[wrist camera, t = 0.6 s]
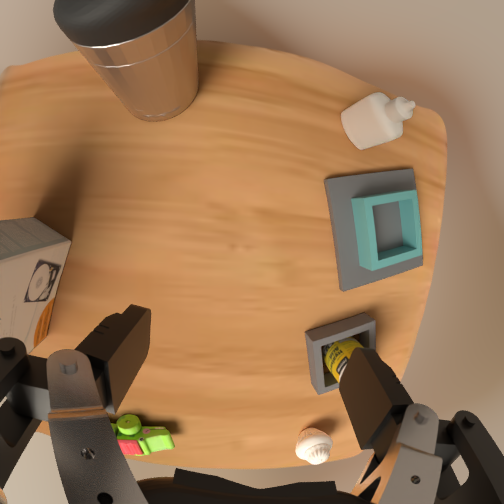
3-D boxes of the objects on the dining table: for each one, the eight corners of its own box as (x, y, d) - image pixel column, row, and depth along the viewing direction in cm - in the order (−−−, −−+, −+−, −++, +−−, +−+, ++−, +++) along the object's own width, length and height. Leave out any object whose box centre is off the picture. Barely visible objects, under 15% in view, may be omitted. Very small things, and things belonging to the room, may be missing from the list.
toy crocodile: (171, 415, 34) (168, 443, 29) (177, 442, 36) (176, 470, 30) (58, 401, 32) (45, 423, 26) (71, 429, 33) (60, 451, 27)
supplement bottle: (324, 332, 35) (358, 369, 26) (358, 331, 36) (396, 364, 27) (316, 366, 36) (345, 408, 27) (349, 364, 37) (382, 401, 28)
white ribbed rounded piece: (328, 418, 39) (344, 445, 32) (321, 441, 40) (334, 468, 33) (293, 424, 38) (305, 454, 31) (287, 447, 39) (298, 475, 32)
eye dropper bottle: (367, 113, 32) (424, 85, 20) (369, 152, 32) (431, 136, 21) (339, 107, 31) (391, 72, 19) (341, 147, 32) (398, 126, 20)
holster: (304, 331, 35) (312, 341, 32) (364, 312, 36) (375, 320, 33) (311, 383, 37) (318, 395, 34) (365, 363, 38) (374, 373, 35)
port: (323, 179, 32) (338, 176, 28) (408, 169, 34) (426, 167, 30) (339, 289, 35) (354, 298, 31) (418, 263, 36) (436, 269, 32)
